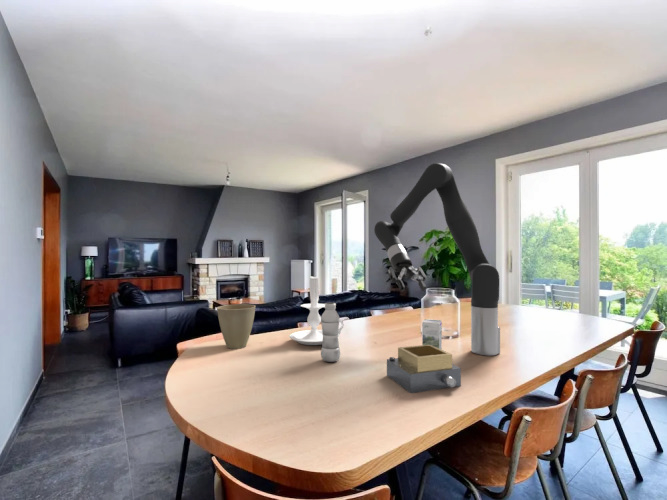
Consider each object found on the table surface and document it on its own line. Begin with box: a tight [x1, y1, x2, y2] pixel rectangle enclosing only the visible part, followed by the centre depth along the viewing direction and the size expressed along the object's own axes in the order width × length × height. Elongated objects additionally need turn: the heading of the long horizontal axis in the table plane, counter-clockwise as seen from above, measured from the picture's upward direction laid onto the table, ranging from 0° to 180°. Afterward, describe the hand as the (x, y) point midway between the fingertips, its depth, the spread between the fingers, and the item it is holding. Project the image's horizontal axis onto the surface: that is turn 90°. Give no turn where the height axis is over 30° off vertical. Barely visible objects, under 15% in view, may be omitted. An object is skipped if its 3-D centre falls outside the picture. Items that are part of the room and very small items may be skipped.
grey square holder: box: [386, 344, 462, 394], centre depth 102 cm, size 16×17×9 cm
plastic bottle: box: [320, 302, 341, 363], centre depth 122 cm, size 6×7×20 cm
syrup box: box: [421, 318, 443, 350], centre depth 119 cm, size 6×6×14 cm
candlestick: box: [289, 275, 345, 346], centre depth 147 cm, size 21×25×28 cm
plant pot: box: [216, 303, 256, 350], centre depth 141 cm, size 15×15×16 cm
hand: (413, 289), depth 130 cm, fingers open, 8 cm apart
